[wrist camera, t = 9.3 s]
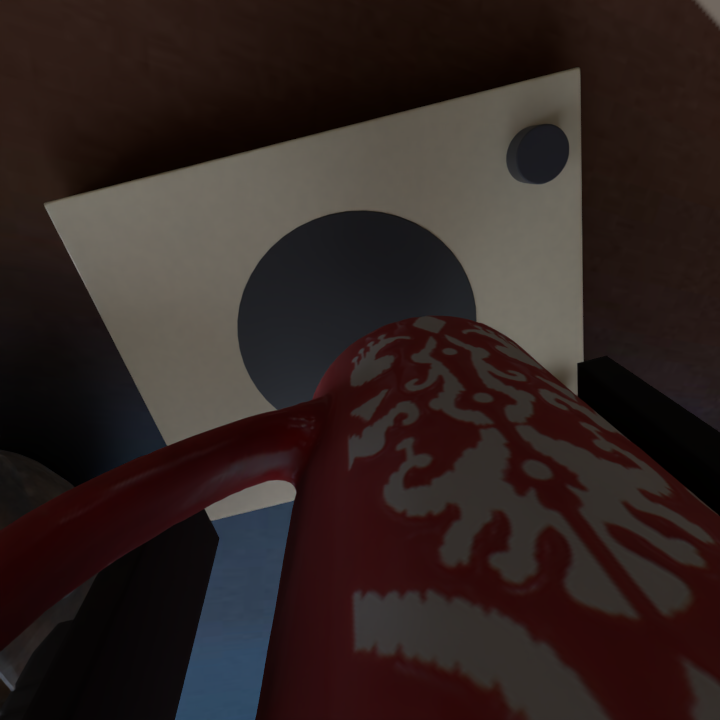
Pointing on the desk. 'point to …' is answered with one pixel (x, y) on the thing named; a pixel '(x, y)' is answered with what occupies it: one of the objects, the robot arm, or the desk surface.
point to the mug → (431, 542)
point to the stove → (338, 253)
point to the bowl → (4, 506)
